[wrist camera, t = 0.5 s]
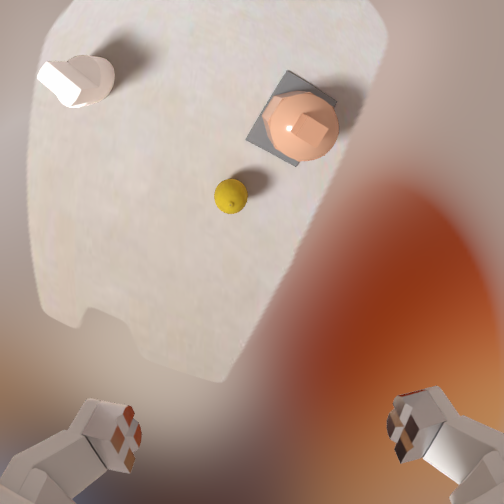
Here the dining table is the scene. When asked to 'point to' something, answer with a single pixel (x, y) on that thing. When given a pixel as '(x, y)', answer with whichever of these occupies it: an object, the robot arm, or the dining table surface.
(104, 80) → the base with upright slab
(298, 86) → the mat
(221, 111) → the dining table surface
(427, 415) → the robot arm
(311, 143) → the cloche
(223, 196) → the lemon
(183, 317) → the dining table surface
